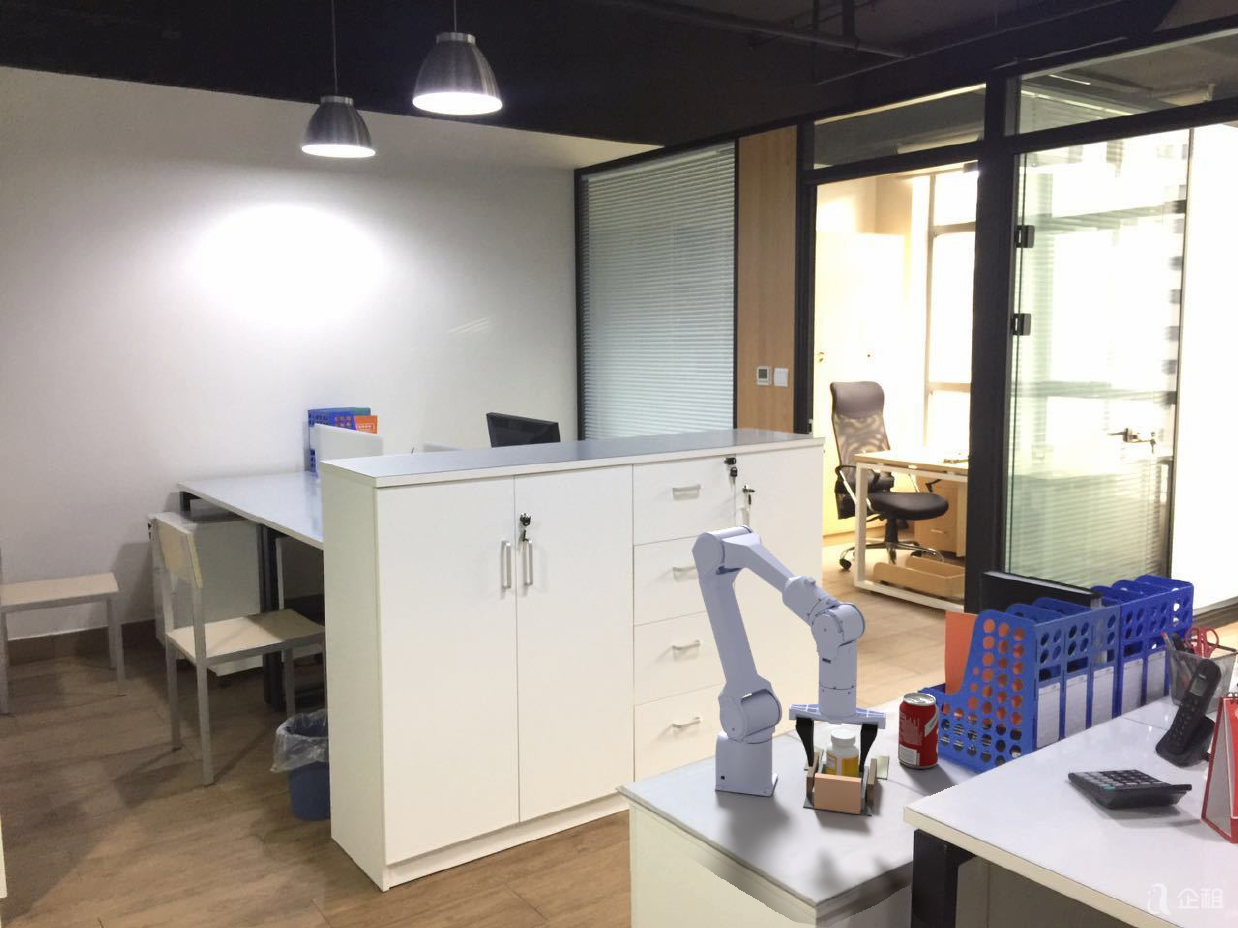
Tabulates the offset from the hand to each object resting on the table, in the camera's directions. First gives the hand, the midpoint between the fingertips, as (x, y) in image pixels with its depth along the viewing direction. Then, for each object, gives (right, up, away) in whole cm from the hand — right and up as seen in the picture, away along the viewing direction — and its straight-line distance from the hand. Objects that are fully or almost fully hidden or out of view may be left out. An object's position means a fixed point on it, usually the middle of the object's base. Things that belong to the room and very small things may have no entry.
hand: (836, 766), depth 158 cm
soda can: (+19, -6, +22) cm, 30 cm away
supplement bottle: (+4, -8, +13) cm, 16 cm away
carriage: (+3, -8, +11) cm, 14 cm away
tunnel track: (+5, -7, +16) cm, 18 cm away
